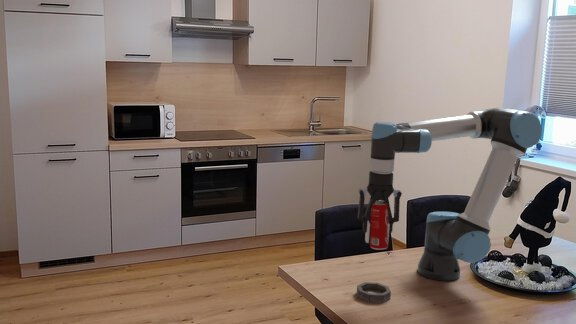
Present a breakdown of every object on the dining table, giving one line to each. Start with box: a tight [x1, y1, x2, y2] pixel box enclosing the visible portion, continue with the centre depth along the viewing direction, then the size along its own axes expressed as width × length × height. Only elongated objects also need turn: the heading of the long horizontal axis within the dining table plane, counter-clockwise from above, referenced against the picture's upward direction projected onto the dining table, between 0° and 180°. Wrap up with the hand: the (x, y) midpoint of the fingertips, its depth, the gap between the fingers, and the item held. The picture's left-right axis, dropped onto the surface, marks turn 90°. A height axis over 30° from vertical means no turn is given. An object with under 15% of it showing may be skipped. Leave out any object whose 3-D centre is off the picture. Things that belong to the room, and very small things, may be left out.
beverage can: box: [369, 200, 389, 251], centre depth 180 cm, size 6×6×15 cm
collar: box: [356, 281, 392, 304], centre depth 184 cm, size 10×10×2 cm
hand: (376, 241), depth 181 cm, fingers closed on beverage can, 6 cm apart
